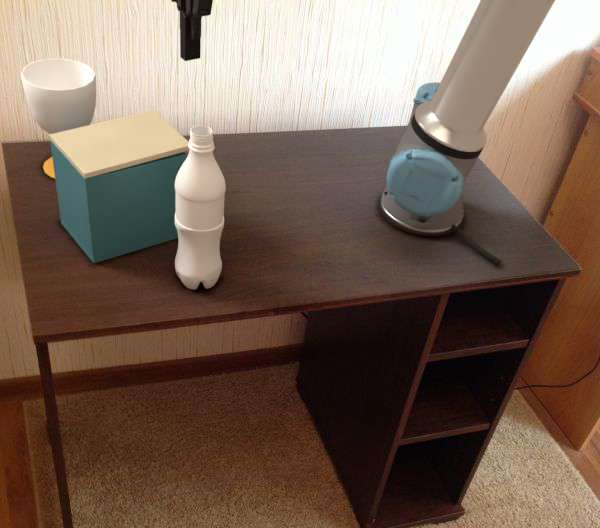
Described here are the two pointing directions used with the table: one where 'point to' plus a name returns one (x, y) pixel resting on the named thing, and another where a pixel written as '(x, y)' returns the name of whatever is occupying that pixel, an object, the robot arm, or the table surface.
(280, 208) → the table surface
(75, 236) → the box
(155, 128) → the cooler lid
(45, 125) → the cup
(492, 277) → the table surface
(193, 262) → the water bottle
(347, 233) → the table surface
